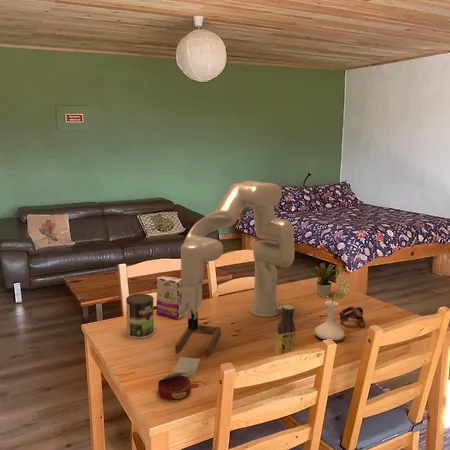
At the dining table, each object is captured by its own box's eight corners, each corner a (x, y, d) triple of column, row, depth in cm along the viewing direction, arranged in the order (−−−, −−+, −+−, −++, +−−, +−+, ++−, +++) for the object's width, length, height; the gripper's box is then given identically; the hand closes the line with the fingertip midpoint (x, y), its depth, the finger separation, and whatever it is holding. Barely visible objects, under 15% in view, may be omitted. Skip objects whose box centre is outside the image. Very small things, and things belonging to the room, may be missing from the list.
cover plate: (200, 364, 163) (200, 358, 162) (193, 379, 153) (193, 373, 153) (180, 362, 164) (180, 356, 163) (172, 377, 154) (172, 371, 154)
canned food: (161, 412, 143) (144, 385, 141) (171, 391, 152) (156, 365, 150) (193, 402, 139) (176, 374, 137) (201, 381, 148) (186, 354, 146)
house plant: (331, 304, 218) (334, 269, 215) (303, 297, 226) (305, 264, 222) (342, 295, 230) (345, 262, 227) (315, 289, 237) (317, 257, 234)
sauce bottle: (281, 367, 161) (284, 311, 157) (271, 359, 166) (273, 305, 162) (297, 363, 164) (300, 308, 160) (286, 355, 169) (289, 302, 165)
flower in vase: (325, 345, 177) (330, 281, 172) (308, 333, 188) (312, 272, 182) (354, 340, 183) (359, 277, 177) (335, 328, 193) (340, 268, 187)
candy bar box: (185, 316, 201) (185, 278, 198) (178, 320, 197) (178, 282, 193) (163, 310, 206) (162, 274, 203) (156, 314, 202) (155, 277, 198)
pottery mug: (361, 332, 190) (351, 314, 190) (342, 335, 197) (332, 318, 197) (373, 316, 199) (364, 299, 198) (354, 319, 206) (345, 303, 205)
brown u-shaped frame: (220, 334, 185) (220, 326, 184) (208, 357, 167) (208, 349, 166) (190, 330, 187) (190, 323, 187) (175, 353, 169) (175, 345, 168)
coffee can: (159, 332, 185) (159, 298, 182) (137, 341, 177) (137, 305, 174) (142, 325, 192) (142, 291, 189) (121, 332, 184) (120, 298, 181)
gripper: (187, 270, 169) (188, 318, 174) (175, 285, 155) (176, 337, 160) (208, 272, 168) (208, 320, 172) (197, 287, 154) (198, 339, 158)
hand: (193, 328), depth 166 cm, fingers closed
